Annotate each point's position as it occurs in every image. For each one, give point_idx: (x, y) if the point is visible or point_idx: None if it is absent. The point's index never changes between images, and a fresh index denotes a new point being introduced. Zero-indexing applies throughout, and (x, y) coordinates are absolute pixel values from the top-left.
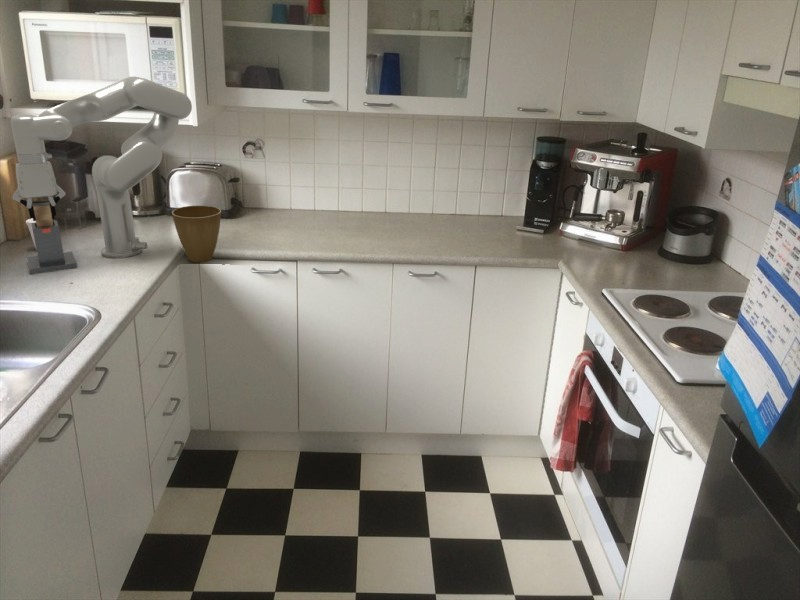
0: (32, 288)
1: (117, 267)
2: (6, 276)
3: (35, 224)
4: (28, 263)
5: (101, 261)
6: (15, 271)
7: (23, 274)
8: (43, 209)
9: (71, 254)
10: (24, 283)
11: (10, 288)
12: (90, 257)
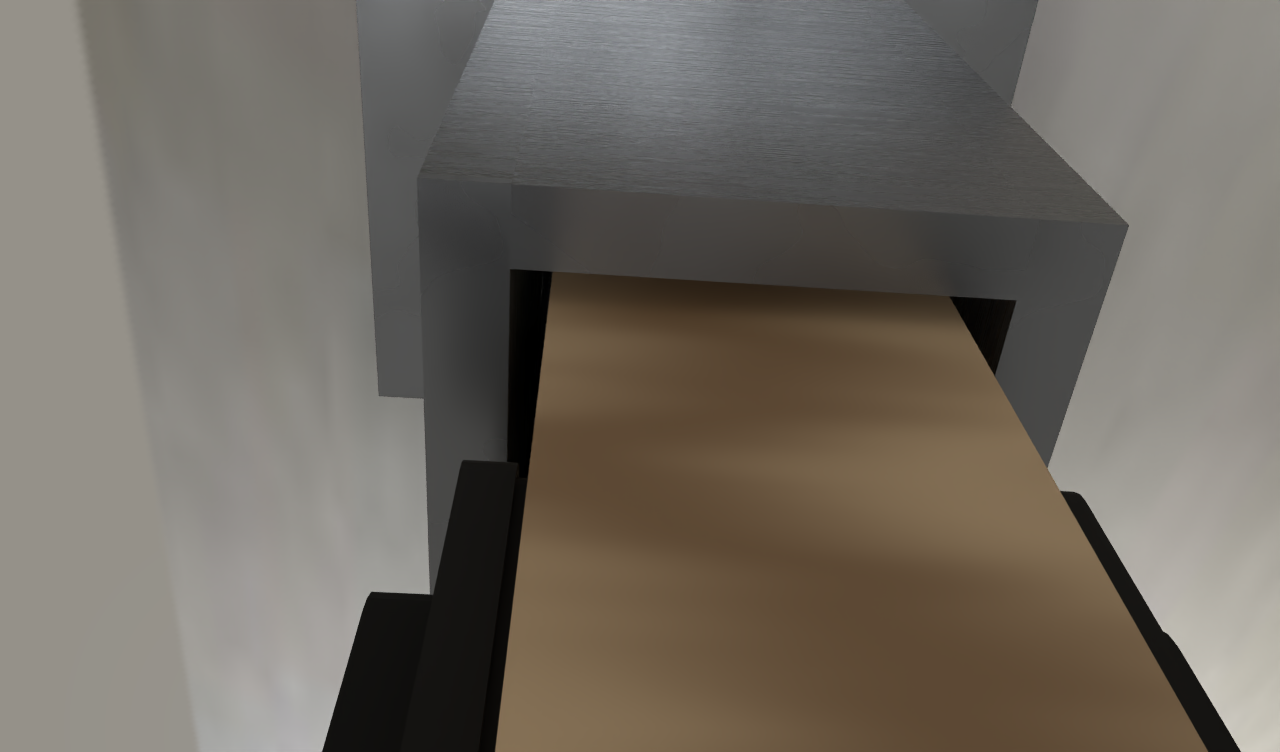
0: None
1: (1254, 565)
2: (127, 311)
3: (527, 250)
4: (370, 146)
5: (1238, 298)
6: (213, 171)
7: (317, 333)
8: None
9: (1007, 10)
10: (337, 595)
11: (218, 656)
12: (1220, 50)
